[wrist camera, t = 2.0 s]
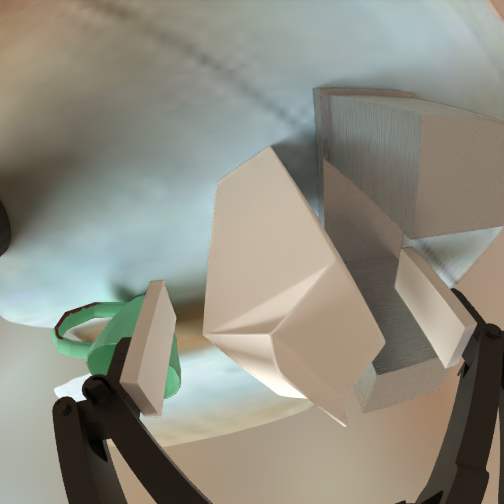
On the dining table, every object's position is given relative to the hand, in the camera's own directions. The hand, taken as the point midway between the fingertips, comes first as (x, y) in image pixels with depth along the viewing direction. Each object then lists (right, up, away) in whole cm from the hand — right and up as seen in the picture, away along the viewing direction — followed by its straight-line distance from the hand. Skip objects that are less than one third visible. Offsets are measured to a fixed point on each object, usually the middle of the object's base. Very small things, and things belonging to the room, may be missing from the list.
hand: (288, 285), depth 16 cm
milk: (-1, +8, +12) cm, 15 cm away
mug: (-17, -5, +19) cm, 25 cm away
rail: (+9, +6, +14) cm, 18 cm away
